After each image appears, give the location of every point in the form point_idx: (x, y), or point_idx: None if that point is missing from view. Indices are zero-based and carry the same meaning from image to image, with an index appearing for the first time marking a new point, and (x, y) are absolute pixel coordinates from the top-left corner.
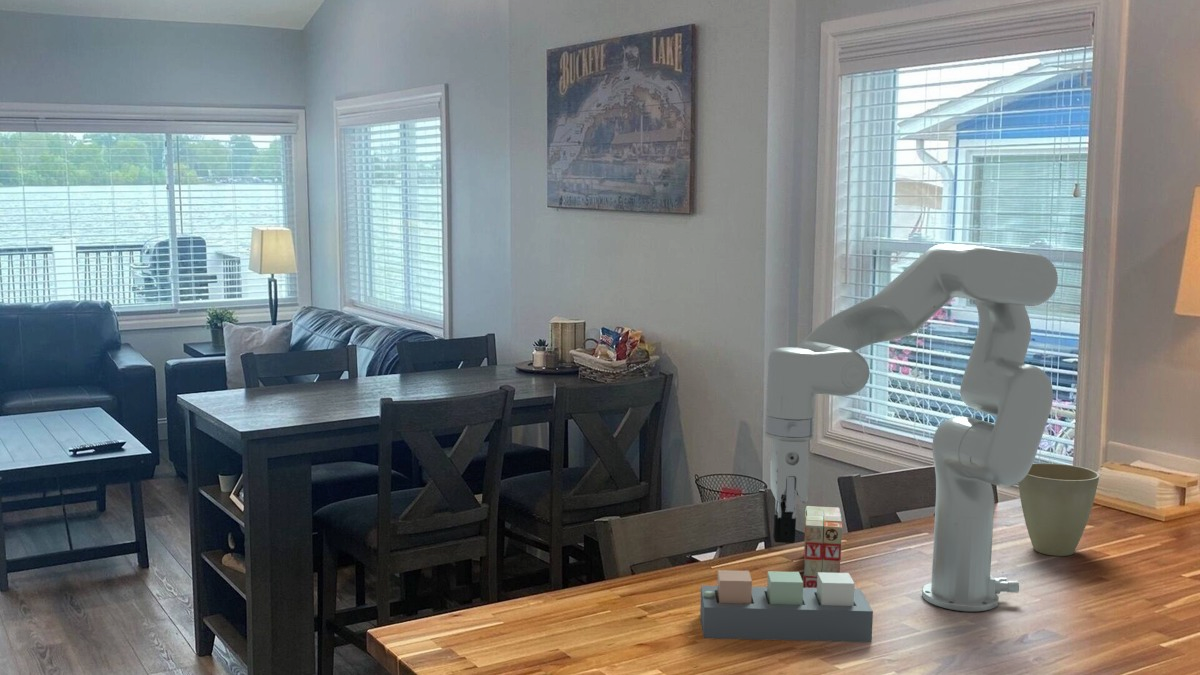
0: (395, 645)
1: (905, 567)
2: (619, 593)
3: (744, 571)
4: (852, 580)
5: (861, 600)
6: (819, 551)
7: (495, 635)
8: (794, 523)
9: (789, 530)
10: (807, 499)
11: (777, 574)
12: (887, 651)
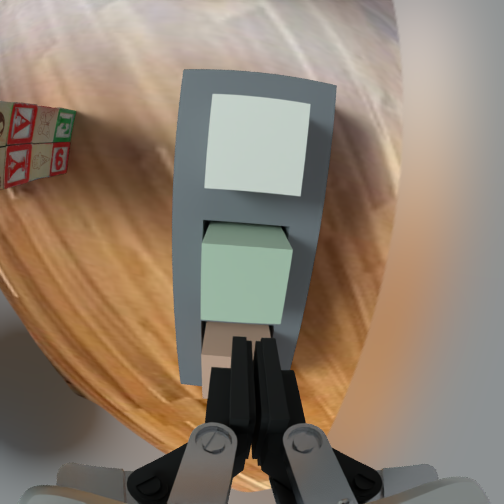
0: (269, 487)
1: (12, 26)
2: (131, 407)
3: (206, 362)
4: (282, 100)
5: (265, 85)
6: (18, 152)
7: (255, 468)
8: (283, 400)
9: (297, 394)
10: (477, 485)
11: (226, 302)
12: (354, 88)
